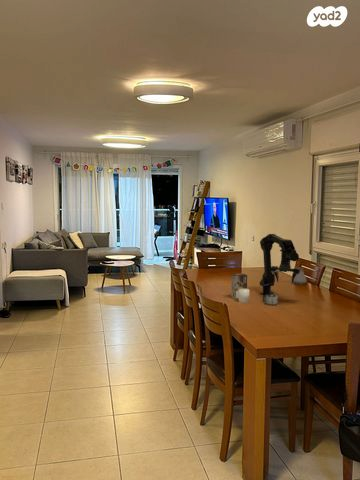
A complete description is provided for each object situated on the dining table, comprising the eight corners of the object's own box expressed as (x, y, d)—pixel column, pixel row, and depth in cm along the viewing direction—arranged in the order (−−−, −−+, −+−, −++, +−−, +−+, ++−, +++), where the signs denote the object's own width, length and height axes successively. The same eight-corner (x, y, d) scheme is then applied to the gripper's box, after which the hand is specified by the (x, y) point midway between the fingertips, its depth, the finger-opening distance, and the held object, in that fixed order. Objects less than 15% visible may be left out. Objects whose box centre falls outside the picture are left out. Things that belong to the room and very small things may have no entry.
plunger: (269, 301, 269) (269, 289, 268) (276, 302, 267) (276, 290, 266) (267, 302, 265) (267, 290, 264) (274, 303, 263) (274, 291, 262)
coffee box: (243, 296, 286) (243, 273, 285) (247, 298, 280) (247, 275, 278) (230, 296, 284) (231, 273, 282) (234, 299, 278) (235, 275, 276)
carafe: (264, 301, 272) (264, 293, 271) (278, 303, 267) (279, 295, 267) (261, 304, 265) (261, 295, 265) (275, 306, 261) (276, 297, 260)
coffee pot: (304, 282, 336) (305, 264, 334) (308, 285, 324) (309, 266, 323) (278, 282, 336) (278, 263, 335) (281, 285, 325) (281, 266, 324)
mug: (237, 299, 278) (237, 287, 277) (250, 300, 274) (250, 289, 273) (234, 301, 271) (234, 289, 271) (247, 303, 267) (247, 291, 267)
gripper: (268, 259, 265) (267, 283, 267) (298, 261, 257) (296, 286, 258) (272, 257, 275) (271, 280, 277) (301, 259, 267) (300, 283, 268)
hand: (284, 282), depth 270 cm, fingers open, 9 cm apart
